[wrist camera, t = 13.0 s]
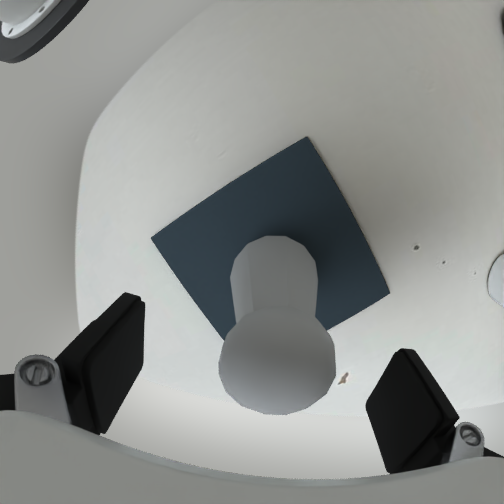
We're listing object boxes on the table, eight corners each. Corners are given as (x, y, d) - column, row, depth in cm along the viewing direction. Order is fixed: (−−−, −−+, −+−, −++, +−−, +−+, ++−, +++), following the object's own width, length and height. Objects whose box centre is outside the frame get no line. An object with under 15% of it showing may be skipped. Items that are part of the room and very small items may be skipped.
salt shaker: (254, 312, 22) (237, 447, 10) (222, 248, 21) (158, 347, 8) (323, 284, 21) (376, 407, 9) (295, 216, 20) (335, 280, 8)
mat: (153, 236, 22) (150, 238, 21) (306, 137, 19) (307, 136, 19) (247, 365, 24) (247, 369, 24) (387, 290, 22) (390, 293, 21)
